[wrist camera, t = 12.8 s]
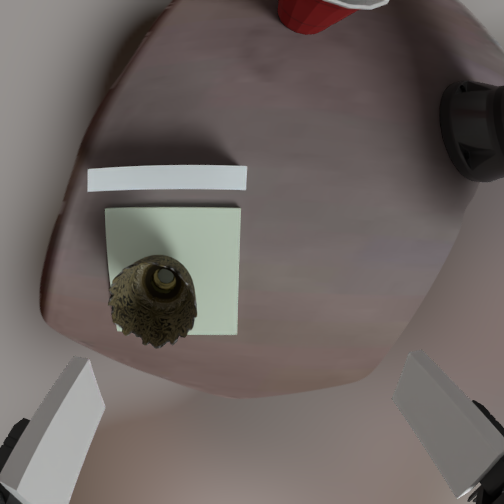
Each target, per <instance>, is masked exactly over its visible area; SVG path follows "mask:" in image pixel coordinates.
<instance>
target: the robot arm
mask: <svg viewBox="0 0 504 504" xmlns="http://www.w3.org/2000/svg"><path fill="white" fill-rule="evenodd" d="M440 123H441V130H442V135H443V139H444V142H445V146H446V148H447V151H448V153H449V156H450V158H451V160H452V161H453V163H454V165H455V166H456V168H457V169H458V170H459V172H460V173H461V174H462V175H463V176H465V177H466V178H467V179H469V180H472V181H476V182H491V181H495V180H497V179H500V178H503V177H504V86H494V85H490V84H485V83H480V82H475V81H469V80H467V81H461V82H457V83H453V84H451V85H450V86H449V87H448V88H447V89H446V90H445V92H444V94H443V97H442V100H441V106H440ZM392 400H393V401H394V403H395V404H396V406H397V407H398V408H399V410H400V411H401V413H402V414H403V416H404V417H405V419H406V420H407V422H408V423H409V425H410V426H411V428H412V429H413V431H414V432H415V434H416V435H417V437H418V438H419V440H420V442H421V443H422V445H423V446H424V448H425V449H426V451H427V452H428V454H429V455H430V457H431V458H432V460H433V462H434V463H435V465H436V466H437V468H438V469H439V471H440V472H441V474H442V476H443V477H444V479H445V480H446V482H447V484H448V485H449V487H450V489H451V490H452V492H453V493H454V495H455V497H456V498H457V499H458V498H459V497H461V496H463V495H464V494H466V493H468V492H469V491H470V490H472V489H473V488H474V487H475V486H476V485H477V484H478V483H479V482H480V483H481V486H480V487H479V488H478V489H477V490H476V491H474V492H473V493H472V494H471V496H470V497H469V499H468V502H470V501H471V500H472V499H473V498H474V497H475V496H476V495H477V497H476V498H475V499H474V500H473V502H476V504H504V428H503V427H502V426H501V424H500V423H499V422H498V421H496V420H495V418H494V417H493V416H492V415H490V413H489V411H488V410H487V409H486V408H485V407H484V406H483V405H481V404H480V403H478V402H476V401H474V400H473V401H471V400H470V399H469V398H468V397H467V396H466V395H465V394H464V392H463V391H462V390H461V389H459V387H458V386H457V385H456V384H455V383H454V382H453V381H452V380H451V379H450V378H449V377H448V376H447V375H446V374H445V373H444V372H443V371H442V370H441V368H440V367H438V365H437V364H436V363H435V362H434V361H433V360H432V359H431V358H430V357H429V356H428V355H427V354H426V353H425V352H424V351H423V350H418V351H413V352H409V354H408V357H407V360H406V362H405V366H404V368H403V371H402V374H401V376H400V379H399V382H398V384H397V387H396V389H395V392H394V394H393V397H392ZM104 410H105V405H104V402H103V399H102V396H101V394H100V391H99V388H98V385H97V382H96V379H95V376H94V373H93V369H92V366H91V363H90V360H89V359H88V358H82V357H75V356H74V357H73V358H72V359H71V361H70V362H69V363H68V365H67V366H66V368H65V369H64V370H63V372H62V373H61V375H60V376H59V378H58V379H57V381H56V382H55V383H54V385H53V386H52V388H51V389H50V391H49V392H48V394H47V395H46V397H45V398H44V400H43V402H42V403H41V405H40V406H39V408H38V409H37V411H36V413H35V414H34V416H33V417H32V419H31V420H28V419H25V418H23V419H22V420H20V421H19V422H18V423H17V424H15V425H14V426H13V428H12V430H11V431H10V433H9V434H8V437H7V438H6V439H5V441H4V445H2V446H1V448H0V504H69V501H70V498H71V495H72V492H73V489H74V487H75V484H76V481H77V478H78V475H79V473H80V470H81V467H82V465H83V462H84V459H85V457H86V454H87V451H88V449H89V446H90V444H91V441H92V439H93V436H94V434H95V431H96V429H97V426H98V424H99V422H100V419H101V417H102V414H103V412H104Z"/></svg>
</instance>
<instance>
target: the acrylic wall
mask: <svg viewBox="0 0 504 504" xmlns="http://www.w3.org/2000/svg"><path fill="white" fill-rule="evenodd" d="M246 176H247V166H227V165H154V166H128V167H111V168H97V169H88V192H91V191H112V190H142V189H228V190H246Z"/></svg>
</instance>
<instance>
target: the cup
mask: <svg viewBox="0 0 504 504" xmlns="http://www.w3.org/2000/svg"><path fill="white" fill-rule="evenodd" d="M161 269H166V270H169V271H170V272H172V273H173V275H174V277H173V280H172V281H171V282H170V283H163V282H161V281H160V279H159V277H158V273H159V271H160V270H161ZM109 291H110V294H112V295H111V297H110V298H109V302H108V305H110V306H112V312H111V314H112V319H113V323H114V324H116V325H118V326H119V327H121V328H122V332H123V334H124V335H126V336H128V335H129V334H130V333H131V332H132V333H134V334H135V335H136V337H140V338H142V340H143V342H142V343H143V345H148V344H149V343H151V345H152V346H153V347H154V348H156V349H157V348H161V347H162V346H164V345H165V344H166V343H167V342H170V343H171V344H172V345H174V344H175V343H176V342H177V339H178V337H179V336H180V337H186V336H187V334H188V332H189V330H192V329H193V326H194V321H195V318H196V317H197V302H196V295H195V288H194V284H193V280H192V278H191V275H190V274H189V272H188V270H187V269H186V268H185V267H184V265H183V264H181V263H180V262H179V261H178V260H176V259H174V258H172V257H169V256H166V255H151V256H147V257H144V258H142V259H140V260H138V261H136V262H134V263H133V264H131V265H130V266H128V267H125V268H124V269H123V270H122V272H120V273H119V274H118V275H117V276H116V277H115V278H114V279H113V281H112V284H111V287H110V289H109Z"/></svg>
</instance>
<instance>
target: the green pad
mask: <svg viewBox="0 0 504 504" xmlns="http://www.w3.org/2000/svg"><path fill="white" fill-rule="evenodd" d="M240 219H241V208H232V207H121V208H106V209H105V226H106V243H107V256H108V267H109V277H110V285H111V284H112V281H113V279H114V278H115V277H116V276H117V275H118V274H119V273H120V272H122V270H123V269H124V268H125V267H128V266H130V265H131V264H133V263H134V262H136V261H138V260H140V259H142V258H144V257H147V256H151V255H166V256H169V257H172V258H174V259H176V260H178V261H179V262H180V263H181V264H183V265H184V267H185V268H186V269H187V270H188V272H189V274H190V275H191V278H192V280H193V284H194V288H195V295H196V302H197V317H196V318H195V321H194V326H193V329H192V330H189V332H188V334H187V335H237V317H238V280H239V248H240ZM158 277H159V279H160V281H161V282H163V283H170V282H171V281H172V280H173V277H174V275H173V273H172V272H170V271H169V270H166V269H161V270H160V271H159V273H158ZM116 326H117V331H122V328H121V327H119V326H118V325H116Z"/></svg>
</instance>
